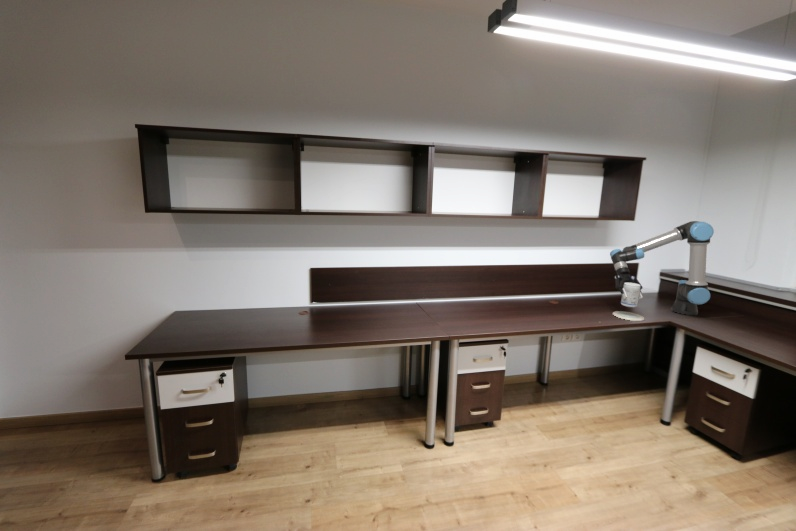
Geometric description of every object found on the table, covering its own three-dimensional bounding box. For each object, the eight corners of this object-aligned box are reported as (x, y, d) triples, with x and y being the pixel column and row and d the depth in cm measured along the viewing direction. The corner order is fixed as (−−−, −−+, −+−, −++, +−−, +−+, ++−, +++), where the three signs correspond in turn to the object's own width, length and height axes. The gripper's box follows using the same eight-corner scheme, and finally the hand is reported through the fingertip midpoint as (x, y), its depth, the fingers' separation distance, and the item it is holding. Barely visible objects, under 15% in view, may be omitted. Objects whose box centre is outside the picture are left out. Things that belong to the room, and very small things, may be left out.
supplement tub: (623, 302, 253) (627, 281, 250) (639, 306, 245) (643, 284, 243) (618, 304, 246) (621, 283, 244) (634, 308, 239) (637, 286, 237)
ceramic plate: (625, 312, 259) (625, 310, 258) (650, 320, 242) (650, 318, 242) (606, 314, 252) (606, 312, 252) (631, 322, 236) (631, 320, 235)
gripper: (634, 273, 258) (646, 301, 245) (603, 272, 257) (613, 300, 245) (641, 267, 252) (653, 295, 239) (608, 265, 251) (619, 294, 238)
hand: (633, 298), depth 242 cm, fingers closed on supplement tub, 9 cm apart
